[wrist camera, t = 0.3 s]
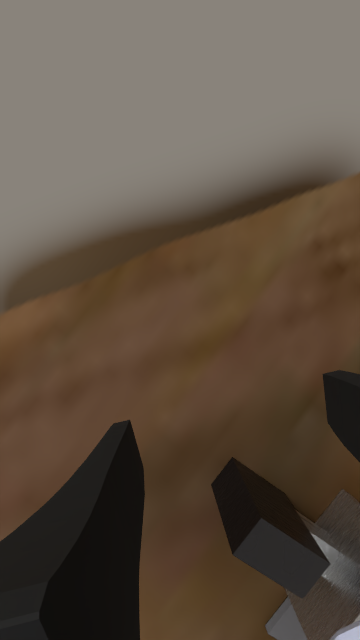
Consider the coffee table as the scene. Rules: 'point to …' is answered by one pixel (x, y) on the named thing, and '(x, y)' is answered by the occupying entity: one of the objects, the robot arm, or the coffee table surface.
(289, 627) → the mat
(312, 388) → the coffee table surface
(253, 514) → the mounted block
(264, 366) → the coffee table surface
